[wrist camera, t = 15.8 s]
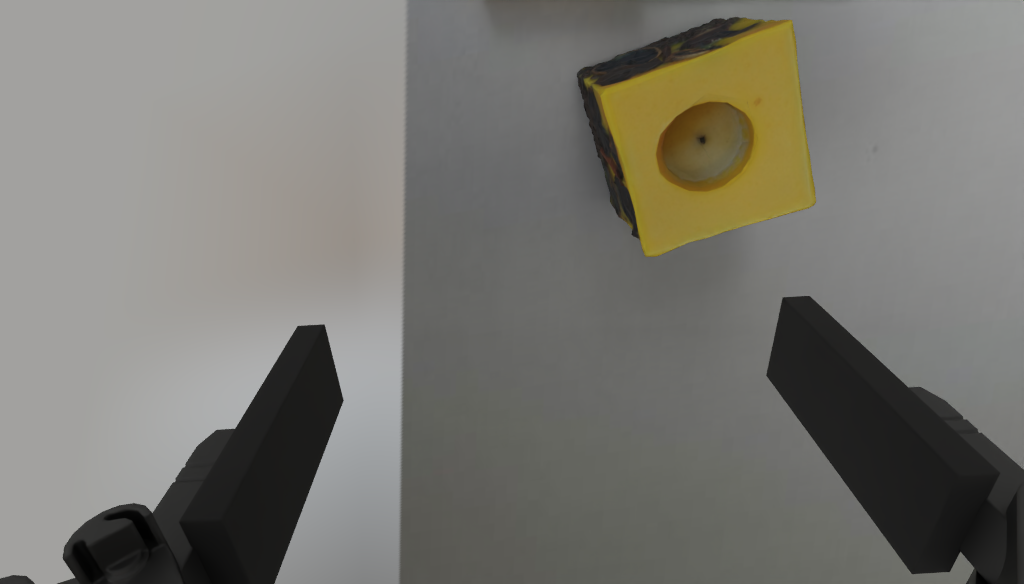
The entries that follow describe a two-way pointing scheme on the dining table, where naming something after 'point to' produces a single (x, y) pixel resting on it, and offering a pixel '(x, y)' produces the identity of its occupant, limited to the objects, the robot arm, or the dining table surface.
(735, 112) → the candle
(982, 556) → the robot arm
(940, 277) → the dining table surface
